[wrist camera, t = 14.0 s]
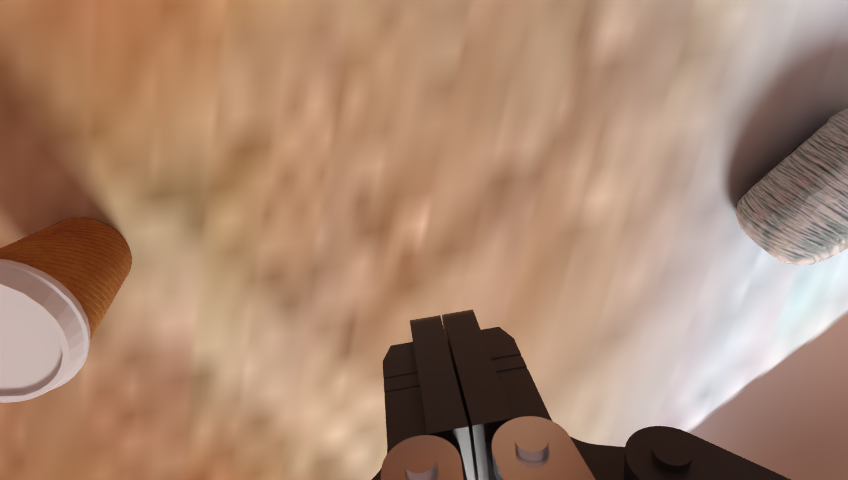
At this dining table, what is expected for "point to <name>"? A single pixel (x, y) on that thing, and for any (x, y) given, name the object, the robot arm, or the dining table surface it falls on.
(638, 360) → the dining table surface
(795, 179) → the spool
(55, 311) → the disposable coffee cup
